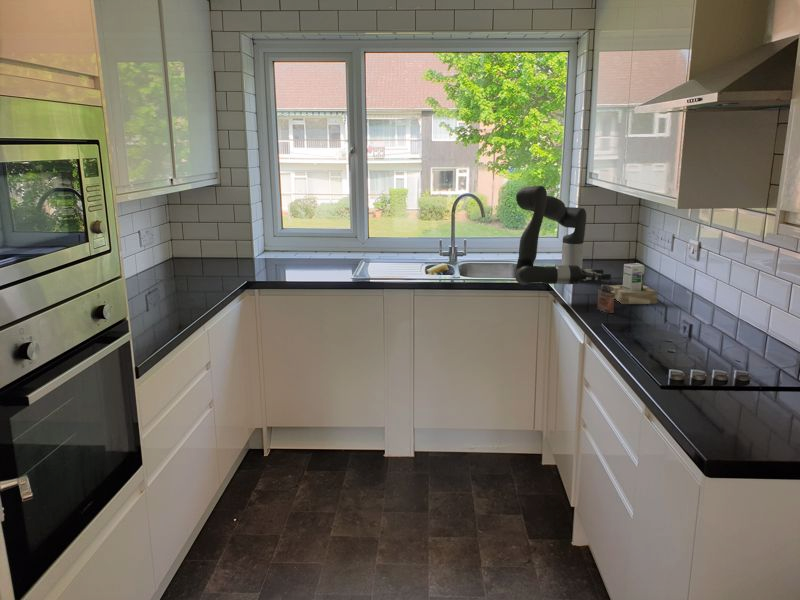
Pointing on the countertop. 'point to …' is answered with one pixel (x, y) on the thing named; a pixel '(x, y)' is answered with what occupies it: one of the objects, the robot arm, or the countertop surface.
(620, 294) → the collar
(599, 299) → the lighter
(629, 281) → the syrup box
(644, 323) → the countertop surface
